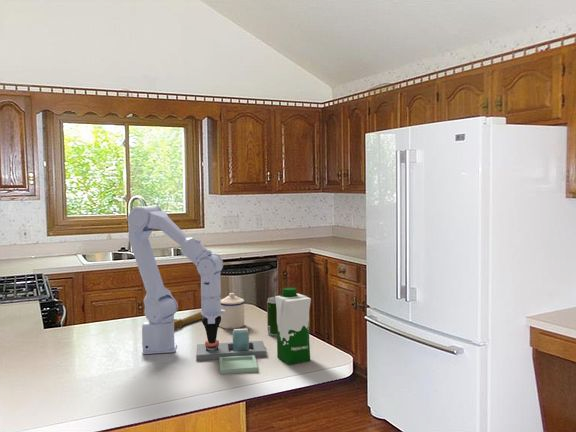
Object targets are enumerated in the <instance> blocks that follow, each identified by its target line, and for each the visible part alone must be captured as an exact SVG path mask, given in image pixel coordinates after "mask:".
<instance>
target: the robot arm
mask: <svg viewBox="0 0 576 432" xmlns="http://www.w3.org/2000/svg"><path fill="white" fill-rule="evenodd" d="M126 220H127V223H128V235H127V236H128V241H129V244H130V246H131V251H132V253H133V257H134V259H135V263H136V264H137V269H138V271H139V274H140V276H141V280H142V283H143V287H144V288H145V292H146V294H145V296H144V298H143V304H144V316H145V319H146V320H148V321H143V322H142V326H141V327H142V328H141V340H142V341H141V344H142V345H141V347H142V354H143V355H149V354H151V355H153V354H167V353H168V354H169V353H175V352H176V348H177V346H178V345H177V344H178V343H177V342H175V330H174V319H175V314H176V313H177V311H178V307H179V306H178V301H177V300H176V298H174V296H173V295H172V293H171V290H170V289H168V288H167V287H165V285H164V282H163V279H162V275H161V272H160V269H159V266H158V264H157V260H156V258H155V255H154V252H153V249H152V246H151V243H150V240H149V238H150V236H151V234H152V233H153V231H155V230H161V231H162V233H164V234H165V235H167V236H168V237H169V238H170V239H171V240H173V241H174V242H175V243H176V244H178V245H179V246H180V252H181V253H182V254H183V255H184V256H185V257H186V258H187V259H188V260H189V261H190V262H191V263H193V264H194V265H195V266H196V270H197V273H198V274H199V275H200V296H201V297H200V300H201V301H200V302H201V304H200V305H201V308H200V309H201V311H200V312H201V315H203V316H204V317H202V319H201V322H202V325H203V327H204V329H205V333H206V338H207V339H206V340H207V341H208V342H216V340H217V335H218V330H219V327H220V322H221V316H219V315H220V314H222V313H225V310H221V299H222V298H221V297H222V295H221V294H222V292H221V291H222V288H221V286H222V285H221V281H222V280H221V271H222V270H223V269H224V260H223V259H222V257H221V256H220V255H219V254H218V253H213V251H212V250H211V249H209V250H208V248H207V247H205V246H204V245H203V244H202V243H201V242H202V240H201V239H200V238H195V237H193V236H192V237H189V236H188V235H187V234H186V233H185V232H184V231H183V230H182V229H181V228H180V227H179V226H178V225H177V224H176V223H175V222H174V221H173V220H172V218H170V217H169V216H168V214H167V212H166V211H164V210H163V209H162V208H161V207H160V206H158V205H154V204H152V205H149V206H148V205H147V206H146V205H145V206H135V207H133V208H132V209H131V210H130V212H129V214H128V216H127V217H126Z"/></svg>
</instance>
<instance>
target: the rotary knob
mask: <svg viewBox="0 0 576 432" xmlns="http://www.w3.org/2000/svg"><path fill="white" fill-rule="evenodd" d="M249 333H250V332H249V329H248V328H236V329H233V331H232V342H233V349H232V352H233V351H250V348H249V342H250V337H249V336H250V335H249Z"/></svg>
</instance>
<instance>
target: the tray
mask: <svg viewBox="0 0 576 432" xmlns="http://www.w3.org/2000/svg"><path fill="white" fill-rule="evenodd" d="M256 358H257V357H255V355H249V356H233V357H219V359H218V361H219V375H225V374H227V375H229V374H243V373H255V372H256V373H257V372H259V366H258V363H257V360H256Z"/></svg>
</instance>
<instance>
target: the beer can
mask: <svg viewBox="0 0 576 432" xmlns="http://www.w3.org/2000/svg"><path fill="white" fill-rule="evenodd" d="M266 314H267V316H266V319H267V322H266V323H267V333H268V334H267V335H269V336H271V337H277V308H276V299H275V296H271V297H267V301H266Z"/></svg>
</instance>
